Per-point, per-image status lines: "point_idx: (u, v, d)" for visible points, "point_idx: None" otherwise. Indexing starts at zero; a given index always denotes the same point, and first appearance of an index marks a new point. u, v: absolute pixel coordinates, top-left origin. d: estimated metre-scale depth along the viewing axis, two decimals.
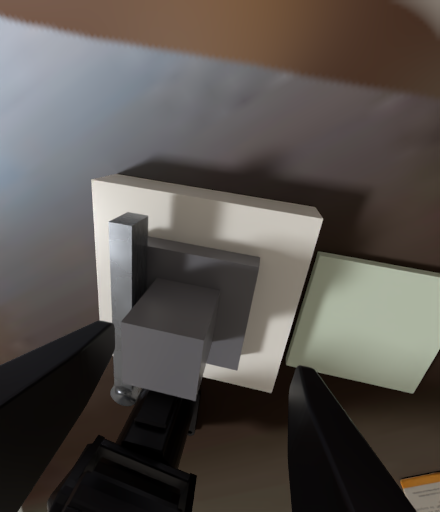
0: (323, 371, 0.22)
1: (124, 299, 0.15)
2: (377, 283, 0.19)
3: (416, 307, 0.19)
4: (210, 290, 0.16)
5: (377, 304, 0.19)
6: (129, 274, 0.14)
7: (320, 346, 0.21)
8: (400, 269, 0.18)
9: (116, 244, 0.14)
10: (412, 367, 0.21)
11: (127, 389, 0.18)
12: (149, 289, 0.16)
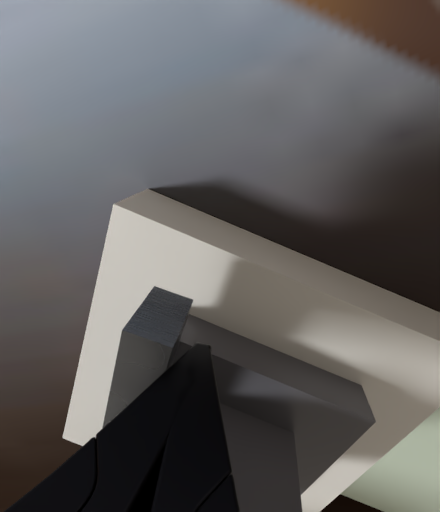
0: (361, 500, 0.17)
1: None
2: None
3: None
4: (280, 434, 0.10)
5: None
6: None
7: (370, 475, 0.16)
8: None
9: (130, 370, 0.07)
10: None
11: None
12: None
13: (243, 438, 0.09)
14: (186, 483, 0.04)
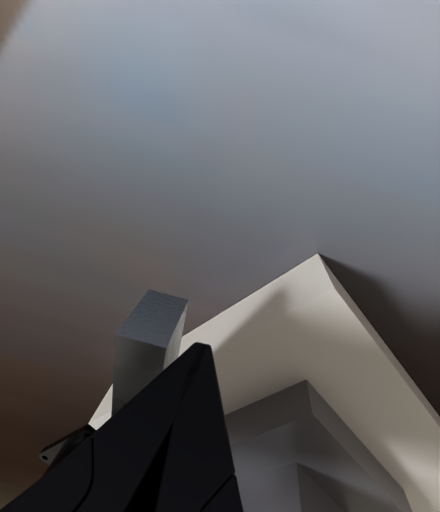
0: None
1: None
2: None
3: None
4: None
5: None
6: None
7: None
8: None
9: (128, 374, 0.07)
10: None
11: None
12: (302, 509, 0.09)
13: None
14: (189, 485, 0.04)
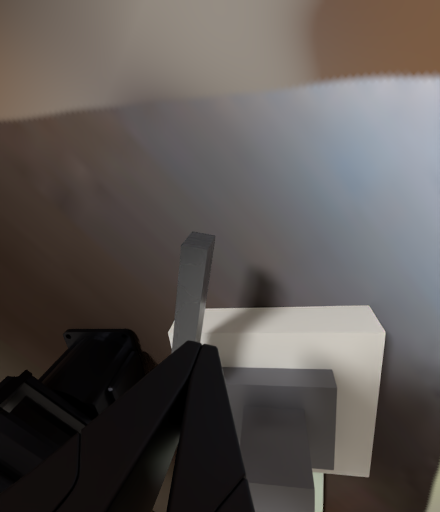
0: None
1: (189, 326, 0.14)
2: None
3: None
4: None
5: None
6: (198, 300, 0.13)
7: None
8: (322, 487, 0.27)
9: (187, 268, 0.13)
10: None
11: None
12: (306, 431, 0.17)
13: None
14: (200, 488, 0.04)
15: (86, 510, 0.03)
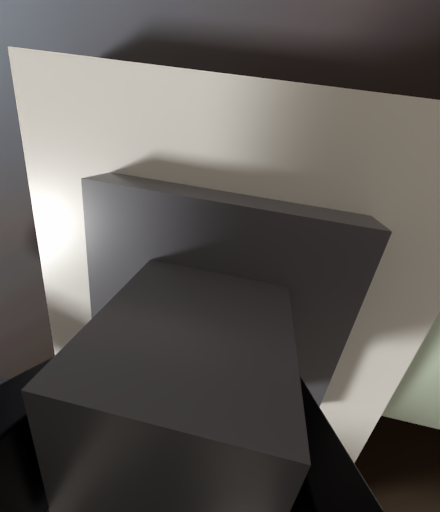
0: (432, 424, 0.13)
1: None
2: None
3: None
4: (267, 287, 0.07)
5: None
6: None
7: (434, 385, 0.12)
8: None
9: None
10: None
11: None
12: (130, 284, 0.07)
13: (213, 289, 0.07)
14: None
15: None
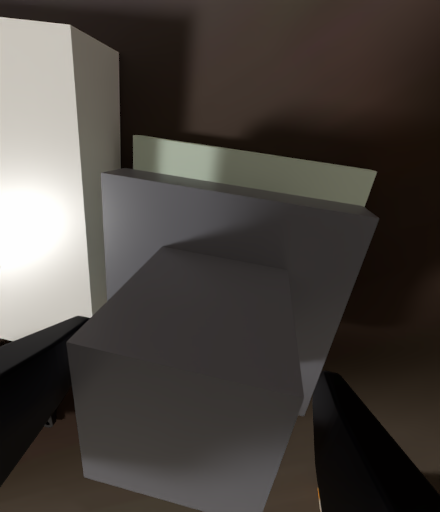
0: None
1: None
2: (225, 179, 0.12)
3: None
4: (269, 270, 0.08)
5: None
6: None
7: None
8: (257, 153, 0.11)
9: None
10: None
11: None
12: (147, 265, 0.07)
13: (219, 271, 0.08)
14: None
15: None
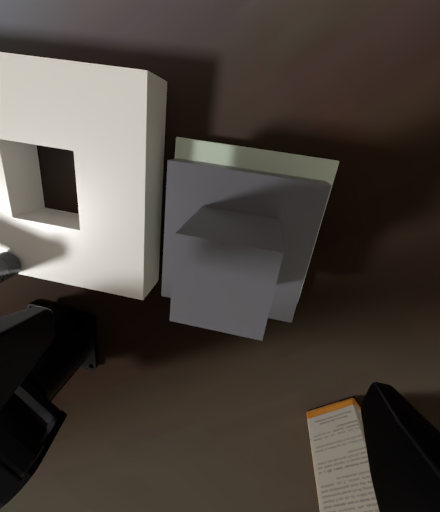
0: None
1: None
2: None
3: None
4: (268, 218, 0.14)
5: None
6: None
7: None
8: (260, 149, 0.17)
9: None
10: None
11: None
12: (197, 213, 0.13)
13: (239, 217, 0.13)
14: None
15: None
